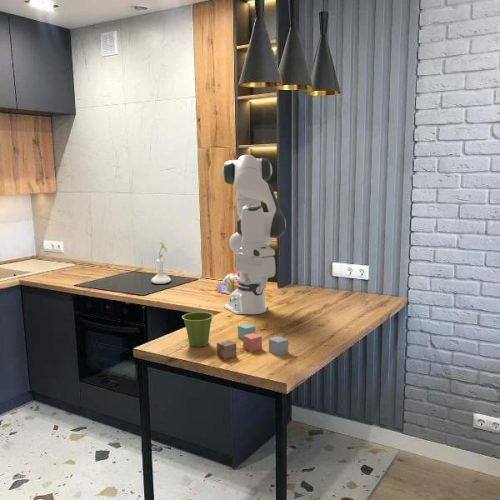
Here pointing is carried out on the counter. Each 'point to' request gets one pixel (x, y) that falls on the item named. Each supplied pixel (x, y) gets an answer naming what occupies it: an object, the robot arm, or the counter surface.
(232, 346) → the walnut block
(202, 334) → the plant pot
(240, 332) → the muted teal block
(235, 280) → the candy landscape model
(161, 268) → the flower in vase
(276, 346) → the slate grey block
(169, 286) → the counter surface
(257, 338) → the brick-red block
